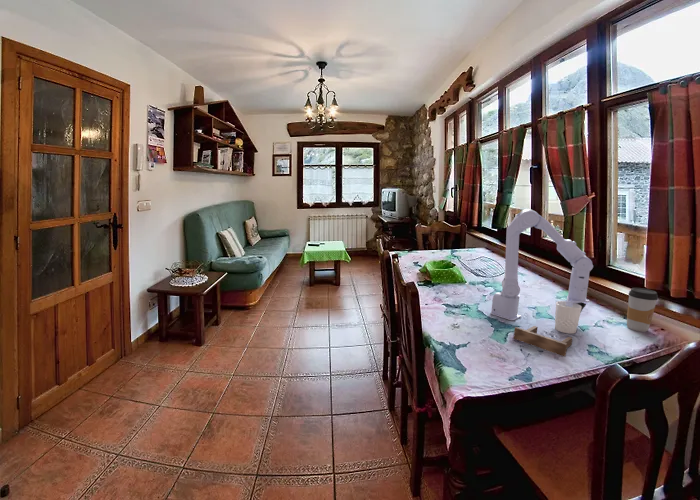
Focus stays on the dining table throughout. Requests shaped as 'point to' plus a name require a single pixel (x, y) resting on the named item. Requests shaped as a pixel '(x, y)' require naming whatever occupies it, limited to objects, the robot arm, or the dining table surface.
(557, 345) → the bar
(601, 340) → the dining table surface
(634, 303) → the coffee cup
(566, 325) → the white cup
